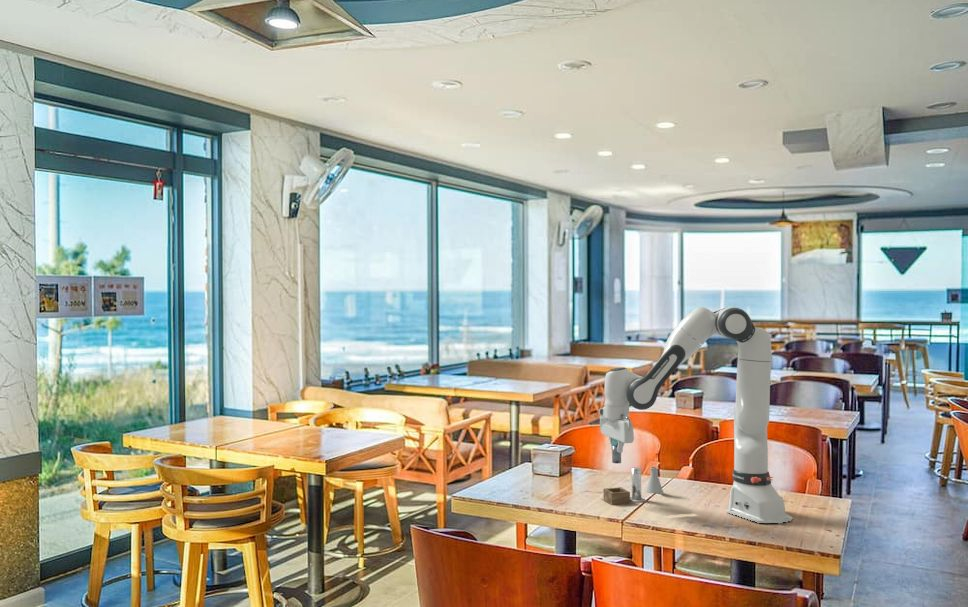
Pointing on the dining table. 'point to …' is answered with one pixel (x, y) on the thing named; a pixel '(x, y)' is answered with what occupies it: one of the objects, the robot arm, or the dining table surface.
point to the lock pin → (636, 483)
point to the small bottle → (615, 452)
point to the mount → (619, 497)
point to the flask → (654, 482)
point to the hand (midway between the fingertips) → (616, 451)
